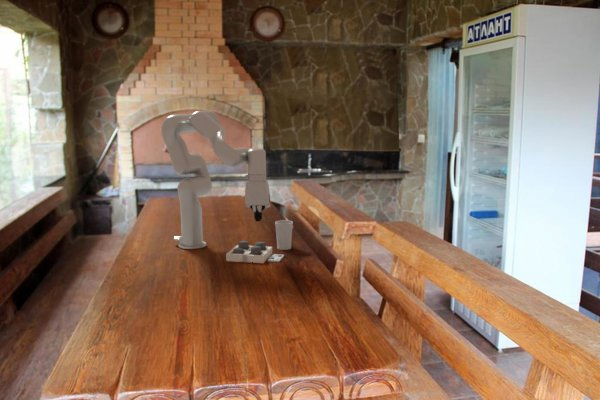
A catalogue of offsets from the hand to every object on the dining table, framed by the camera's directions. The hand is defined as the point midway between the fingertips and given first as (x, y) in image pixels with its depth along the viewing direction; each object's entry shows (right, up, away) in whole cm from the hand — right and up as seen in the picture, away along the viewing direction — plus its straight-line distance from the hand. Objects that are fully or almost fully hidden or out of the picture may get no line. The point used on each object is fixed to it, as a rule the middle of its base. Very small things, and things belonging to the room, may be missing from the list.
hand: (258, 220), depth 243 cm
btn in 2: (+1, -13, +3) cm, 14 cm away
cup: (+11, -13, +16) cm, 23 cm away
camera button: (-8, -15, -2) cm, 18 cm away
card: (+8, -16, -1) cm, 18 cm away
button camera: (-1, -14, -4) cm, 15 cm away
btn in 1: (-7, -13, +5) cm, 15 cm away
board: (-4, -16, +1) cm, 16 cm away
